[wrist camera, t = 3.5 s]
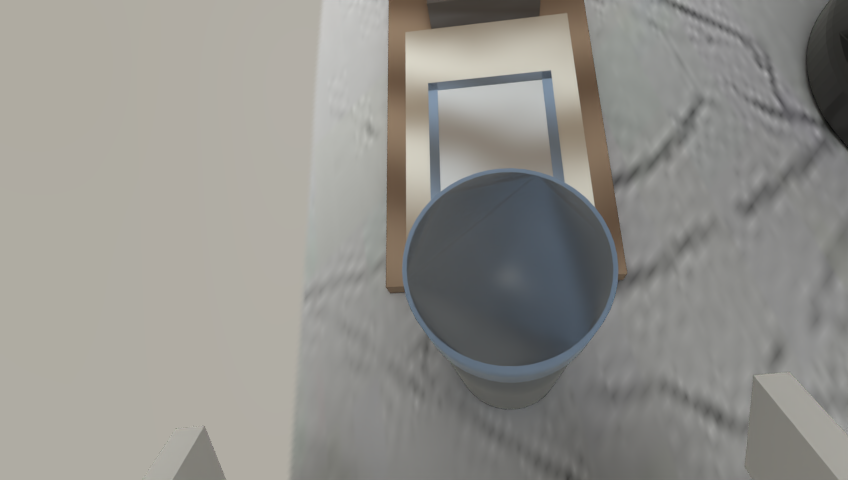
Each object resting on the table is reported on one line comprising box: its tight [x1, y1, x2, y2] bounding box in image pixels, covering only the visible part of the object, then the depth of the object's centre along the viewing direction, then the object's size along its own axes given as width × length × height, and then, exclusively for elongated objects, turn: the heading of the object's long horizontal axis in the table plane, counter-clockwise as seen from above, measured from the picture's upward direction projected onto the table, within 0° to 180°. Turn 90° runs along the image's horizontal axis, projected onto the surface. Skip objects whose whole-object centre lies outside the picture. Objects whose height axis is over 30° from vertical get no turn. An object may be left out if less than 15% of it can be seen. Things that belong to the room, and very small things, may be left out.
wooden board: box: [386, 0, 627, 293], centre depth 28 cm, size 22×11×3 cm, turn 1°
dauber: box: [402, 168, 618, 409], centre depth 18 cm, size 5×5×14 cm
